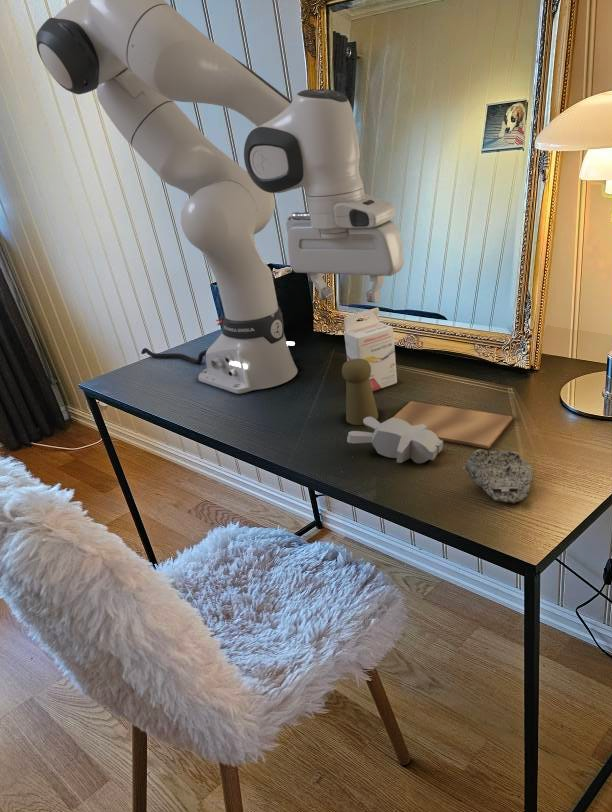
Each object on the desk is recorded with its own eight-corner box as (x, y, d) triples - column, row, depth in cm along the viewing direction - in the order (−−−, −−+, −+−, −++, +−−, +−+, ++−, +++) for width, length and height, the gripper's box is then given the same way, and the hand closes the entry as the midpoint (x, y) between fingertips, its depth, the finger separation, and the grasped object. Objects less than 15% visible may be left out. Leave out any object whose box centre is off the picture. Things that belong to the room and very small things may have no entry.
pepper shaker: (375, 425, 117) (368, 367, 111) (342, 425, 118) (334, 368, 112) (381, 409, 122) (375, 354, 116) (349, 410, 123) (342, 355, 117)
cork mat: (382, 429, 115) (382, 426, 115) (411, 403, 123) (410, 400, 122) (488, 448, 106) (488, 445, 105) (512, 419, 113) (512, 416, 113)
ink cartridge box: (363, 396, 128) (354, 323, 120) (350, 388, 132) (340, 317, 123) (398, 382, 131) (392, 311, 123) (385, 376, 135) (378, 305, 127)
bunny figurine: (425, 452, 99) (341, 427, 105) (424, 479, 102) (342, 454, 108) (450, 424, 105) (370, 402, 111) (448, 450, 109) (370, 428, 114)
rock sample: (488, 495, 88) (489, 434, 90) (459, 507, 94) (460, 450, 97) (551, 507, 91) (550, 448, 94) (519, 517, 98) (519, 462, 101)
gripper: (272, 216, 104) (289, 303, 111) (383, 214, 94) (393, 309, 101) (296, 208, 108) (310, 291, 116) (404, 205, 98) (411, 297, 106)
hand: (349, 300), depth 108 cm, fingers open, 8 cm apart
